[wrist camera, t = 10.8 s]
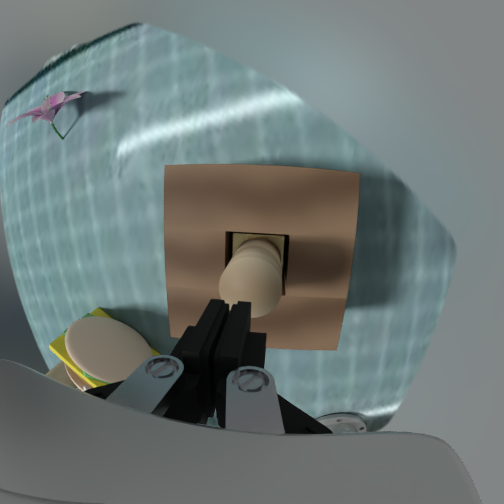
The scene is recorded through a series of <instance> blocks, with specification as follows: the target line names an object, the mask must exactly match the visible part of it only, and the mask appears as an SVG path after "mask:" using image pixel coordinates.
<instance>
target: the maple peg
mask: <svg viewBox="0 0 504 504" xmlns="http://www.w3.org/2000/svg"><path fill="white" fill-rule="evenodd" d="M219 293H220V297H221V299H222V300H225V303H228V304H229V310H231V307H232V305H233V304H237V303H238V301H246V302H251V318H256V317H261V316H264V315H266V314H268V313H270V312H271V311H272V310H273V309H274V308H275V307H276V306H277V305H278V303H279V301H280V299H281V295H282V269H281V254H280V251H279V249H278V247H277V246H276V245H275V244H274V243H273V242H272V241H270V240H269V239H266V238H263V237H253V238H249V239H247V240H245V241H244V242H243V243H242V244H241V245H240V246H239V248H238V249H237V251H236V252H235V254H234V256H233V257H232V259H231V260H230V262H229V264H228V265H227V267H226V269H225V270H224V272H223V274H222V275H221V278H220V281H219Z"/></svg>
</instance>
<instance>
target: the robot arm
mask: <svg viewBox="0 0 504 504" xmlns="http://www.w3.org/2000/svg"><path fill="white" fill-rule="evenodd" d="M250 328H251V302H246V301H238V303H237V304H233V305H232V307H231V310H230V313H229V304H228V303H225V300H221V299H211V300H210V301H209V303H208V305H207V307H206V308H205V310H204V312H203V314H202V315H201V317H200V319H199V321H198V323H197V324H196V326H188V327H187V328H186V330H185V332H184V333H183V335H182V337H181V338H180V340H179V341H178V343H177V345H176V346H175V348H174V350H173V351H172V353H171V354H170V356H169V355H157V356H153V357H150V358H148V359H147V360H145V361H144V362H143V363H142V364H141V365H140V366H139V367H138V368H137V369H136V370H135V371H134V372H133V373H132V374H131V375H130V376H129V377H128V378H127V379H126V380H122V381H119V382H115V383H111V384H107V385H103V386H99V387H95V388H91V389H88V390H85V391H84V392H83V391H81V390H80V389H75V388H73V387H71V386H68V385H66V384H64V383H61V382H59V381H57V380H55V379H53V378H50V377H48V376H46V375H44V374H41V373H39V372H37V371H35V370H33V369H31V368H29V367H26V366H24V365H21V364H19V363H15V362H12V361H8V360H1V359H0V504H482V502H481V499H480V497H479V494H478V492H477V489H476V487H475V485H474V483H473V480H472V478H471V476H470V474H469V472H468V471H467V469H466V467H465V465H464V464H463V462H462V460H461V459H460V457H459V456H458V454H457V453H456V452H455V450H454V449H452V447H451V446H450V445H449V444H447V443H446V442H445V441H443V440H441V439H439V438H437V437H434V436H430V435H425V434H418V433H411V432H391V431H387V432H367V428H366V424H365V422H364V421H363V420H362V419H361V418H360V417H358V416H355V415H352V414H332V415H327V416H323V417H320V418H317V419H314V418H312V417H311V416H309V415H308V414H306V413H305V412H303V411H302V410H300V409H299V408H297V407H296V406H294V405H293V404H291V403H290V402H288V401H287V400H286V399H284V398H283V397H281V396H280V395H278V394H277V391H276V386H275V381H274V378H273V376H272V375H271V374H270V373H269V372H268V371H267V370H265V369H264V363H265V351H266V339H267V333H260V332H250ZM215 409H216V414H217V418H218V424H219V426H220V427H221V428H218V427H211V426H205V425H206V422H207V419H208V417H213V416H214V412H215ZM197 423H199V424H205V425H199V424H197Z"/></svg>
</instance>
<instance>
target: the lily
mask: <svg viewBox="0 0 504 504" xmlns="http://www.w3.org/2000/svg"><path fill="white" fill-rule="evenodd" d="M84 92H86V91H84ZM81 93H83V92H79V93H75V94H72V95H69V96H67V97H65V93H64V92H59V93H57V94H54V95H52V96H50V97H49V98H48V96H47V99H46V100H45V99H44V100H45V101H44V102H43V103H42V106H39V107H36V108H34V109H32V110H30V111H28V112H26V113H24V114H22V115H20V116H18V117H17V118H15V119H14V120H12V121H11V122H10V123H9V124H11V123H13V122H15V121H17V120H19V119H21V118H23V117H26V116H30V115H33V116H35V117H32V121H33V122H36V121H37V120H38V119H43V120H46V121H49V122H50V123H51V125H52V127H53V129H54V130H55V132H56V133H57V134H58V135H59V136H60V138H61V139H62V140H63V139H64V138H63V137H62V136H61V135H60V133H59V132H58V131H57V130H56V128H55V126H54V124H53V118H54V117H55V115H56V114H57V112H58V111H59V109H60V108H61V107H62V106H63V104H64V103H65V102H67V101H68V100H72V99H76V98H79V97H81V96H80V95H79V94H81ZM64 97H65V98H64ZM9 124H7V125H9ZM7 125H6V126H7Z"/></svg>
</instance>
